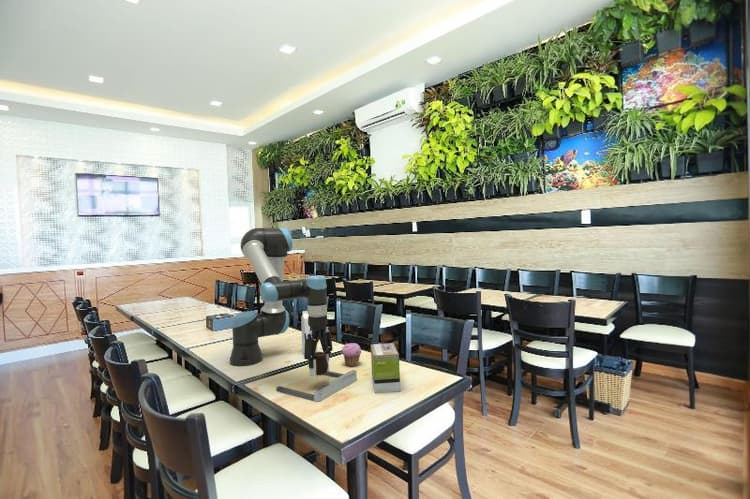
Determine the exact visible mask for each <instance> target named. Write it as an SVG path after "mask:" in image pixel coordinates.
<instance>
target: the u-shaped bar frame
mask: <svg viewBox="0 0 750 499" xmlns="http://www.w3.org/2000/svg"><path fill="white" fill-rule="evenodd" d="M322 376H328V377H332V378H334V379H332V380H330V381H329V382H326V383H324V384H322V385H321V386H319V387H317V388H314V390H313V394H312V393H310V392H304V391H302V390H301V391H300V390H296V389H293V388H288V387H285V386H281V385H279V386H276V387H275V388H276V389H275V390H276V392H279V393H283V394H286V395H290V396H294V397H298V398H302V399H305V400H309V401H312V402H313V401H314V402H316V403H319V402H321V401H323V400H324V399H326V398H328V397H330V396H332V395H333V394H335V393H337V392H338V391H341V390H342V389H343V388H345V387H347V386H349V385H351V384H353V383H354V382H356V381H357V380H358V378H357V370H354V369H351V370H349V371H347V372H345V373H340V372H335V371H330V370H329V371H327V372H326V373H325V374H323V375H322Z"/></svg>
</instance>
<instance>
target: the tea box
mask: <svg viewBox="0 0 750 499" xmlns="http://www.w3.org/2000/svg"><path fill="white" fill-rule="evenodd" d="M370 357H371V358H370V360H371V361H370V362H371V364H370V365H371V378H372V379H371V380H372V385H373V389H374V393H375V394H379V393H382V394H383V393H384V394H385V393H394V392H401V375H400V374H401V371H400V354H399V352H398V349H397V347H396V346H395V343H394V342H391V343H390V342H389V343H378V344H377V343H375V344H374V343H373V344H370Z"/></svg>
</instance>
